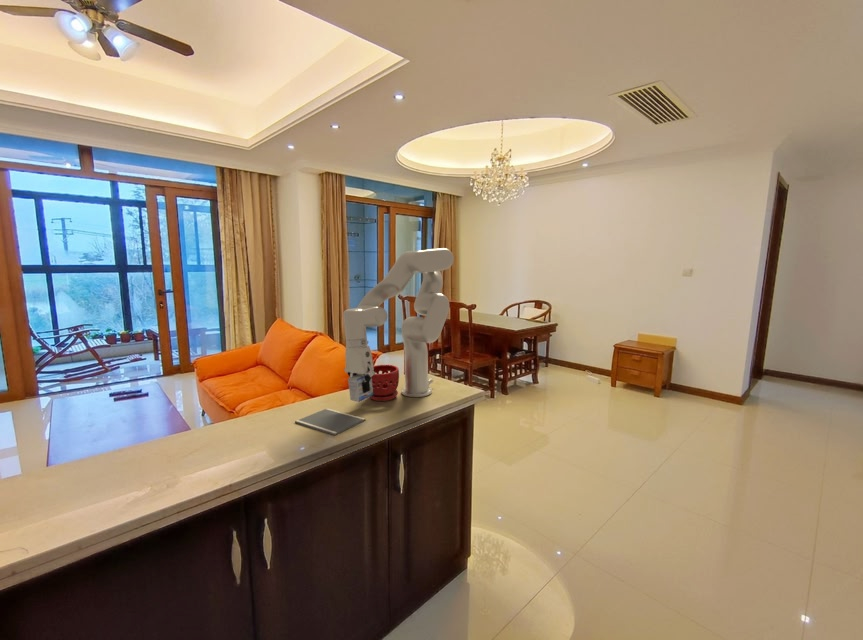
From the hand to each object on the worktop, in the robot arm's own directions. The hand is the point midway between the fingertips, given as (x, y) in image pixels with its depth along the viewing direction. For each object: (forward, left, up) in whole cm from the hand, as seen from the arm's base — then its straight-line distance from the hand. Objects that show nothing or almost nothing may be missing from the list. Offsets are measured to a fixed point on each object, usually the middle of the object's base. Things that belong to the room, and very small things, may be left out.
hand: (361, 390), depth 144 cm
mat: (+15, 0, -7) cm, 17 cm away
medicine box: (0, 0, -3) cm, 3 cm away
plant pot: (-13, 0, -7) cm, 14 cm away
